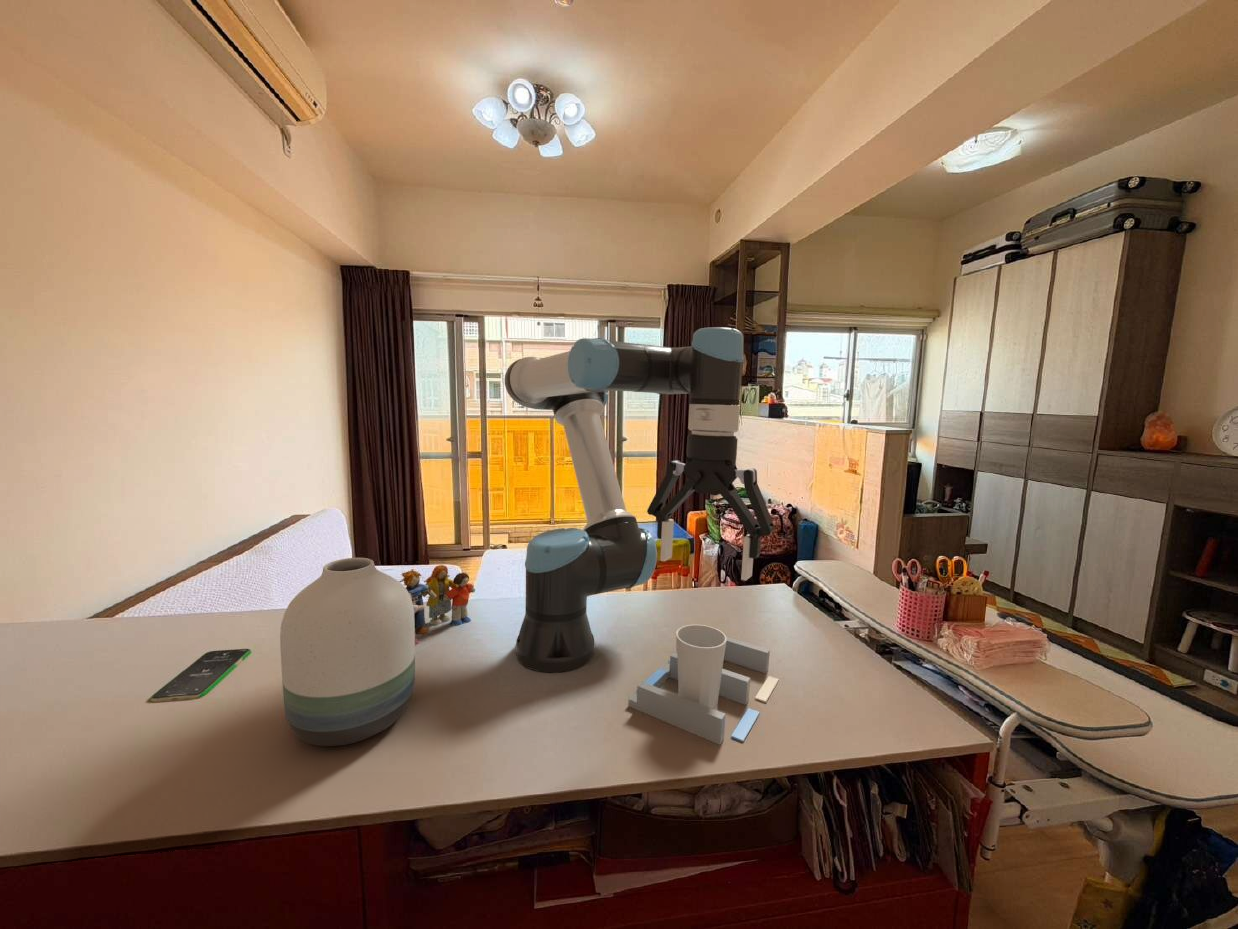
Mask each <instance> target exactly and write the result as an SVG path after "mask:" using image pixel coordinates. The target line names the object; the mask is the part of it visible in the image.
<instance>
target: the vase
mask: <svg viewBox="0 0 1238 929" xmlns="http://www.w3.org/2000/svg"><path fill="white" fill-rule="evenodd" d="M399 581H400V580H397V579H396V578H394V577H392V576H391V575H389V574H387V573H385V572H382V571H380V570H379V569H377V567H376V565H375V562H374V560H373V559H370V558H367V557H349V558H342V559H341V558H340V559H336V560H332V561H330V562H328V563H326V564H325V565H323V567H322V573H321V575H320V576H319V577H318V578H317V579H315V580H314V581H312V582H311V583H310V584H308V585H307V586H306V587H304V588H303V589H302V590H300V592H298V593H297V594H296V595H295V597H293V599H291V601H290V602H289V604H288V605H287V608H286V609H285V611H284V614H283V616H282V619H281V624H280V632H279V636H280V638H279V642H280V644H279V645H280V661H281V662H280V666H281V678H282V679H281V680H282V683H281V684H282V694H283V696H282V697H283V708H284V714H285V718H286V721H287V724H288V725H289V727H290V729H291V731H292V732H293V733H294V734H295V736H296V737H298V739H300V740H301V741H304V742H305V743H308V744H311V745H315V746H321V747H322V746H323V747H337V746H344V745H350V744H354V743H358V742H361V741H363V740H366V739H369V738H371V737H373V736H376V735H377V734H380V733H381V732H383V731H384V730H386V729H388V728H389V727H390V726H392V725H393V724H394V723H396V721H397V720H398V719H400V717H401V716H402V715H403V714H404V713H405V711H406V710H407V708H408V705H409V704H410V701H411V700H412V696H413V693H414V689H415V684H416V683H415V681H416V645H415V639H416V636H415V633H416V632H415V630H416V629H415V623H414V608H413V603H412V600H411V597H410V595H409V593H408V591H407V589H406V587H405V585H404V584H402V582H399Z"/></svg>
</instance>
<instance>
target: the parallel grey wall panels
mask: <svg viewBox="0 0 1238 929" xmlns="http://www.w3.org/2000/svg"><path fill="white" fill-rule="evenodd" d="M726 638H727V641H726V648H725V654H724V661H726V662H729V663H732V664H735V665H738V666H741V667H745V668H748V669H751V670H754V671H756V672H759V673H763V674H767V673H768V671H769V667H770V666H769V664H770V652H771V651H770V649H769V648H765V647H762V646H759V645H755V644H752V643H749V642H746V641H742V640H738V639H735V638H732V637H729V636H726ZM669 678H672V679H674V680H676V681H678V659H677V652H673V653H671V654H670V655H669V659H668V660H667V662H666V663H665V664H664V665H663V666H662V667H661V668H659V669H657V671H655V672H654V673H653V674H652V675H651V676H650V677H649V678H648V679H646V681H641V682H639V684H638V685H637V687H636V691H635V692H634V694H632V695H631V696H630V697H629V698H628V702H627V703H628V704H627V706H628V707H629V708H631V709H634V710H636V711H638V712H641V713H643V714H645V715H648V716H650V717H652V718H655V719H658V720H660V721H663V722H664V723H667V724H669V725H672V726H675V727H676V728H679V729H682V730H684V731H685V732H688V733H690V734H693V735H695V736H698V737H701V738H702V739H704V738H705V739H704V740H707V741H710V742H712V743H714V744H717V745H719V746H721V745H722V743H723V741H724V740H725V727H726V726H725V725H726V713H724V712H722V711H719V710H718V709H717V710H714V709H712V708H709V707H707V706H704V705H701V704H699V703H696V702H694V701H691V700H688V699H686V698H683V697H681V696H678V695H679V694H678V695H677V694H675V693H674V692H673V693H672V692H670V691H667V690H665V689H662V688H660V687H661V685H663V683H665V682H666V680H667V679H669ZM779 680H780V679H779V678H776V677H773V676H770V675H768V676H767V678H766V679H765V681H764V683H763V684H762V686H761V687H760V689H759V691H758V692H757V693H756V695H755V697H754V700H756V701H758V702H759V701H760V702H762V703H767V702H768V700H769V699H770V697H771V695H772V693H773V691H774V690H775V687H777V685H778V683H779ZM750 684H751V677H749V676H746V675H743V674H740V673H737V672H734V671H730V670H728V669H725V668H722V675H721V682H720V689H719V696H720V697H724V698H726V699H728V700H730V701H731V700H732V701H734V702H737V703H740V704H742V705H745V706H746V705H747V704H748V702H749V701H750V698H749V697H750V688H751V685H750ZM760 714H761V713H760V711H758V710H754V709H752V708H749V707H748V708H747V710H746V711H745V713H744V715H743V716H742V718H741V720H740V721H739V723H738V724H737V726H736V728H735V729H734V730H733V732H732V734H731V737H730V738H732V739H734V740H736V741H739V742H741V743H744V742H745V740H746V739H747V737H748V735H749V734H750V731H751V730H752V728H753V726H754V725H755V722H756V721H757V719H758V717H759V716H760Z"/></svg>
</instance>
